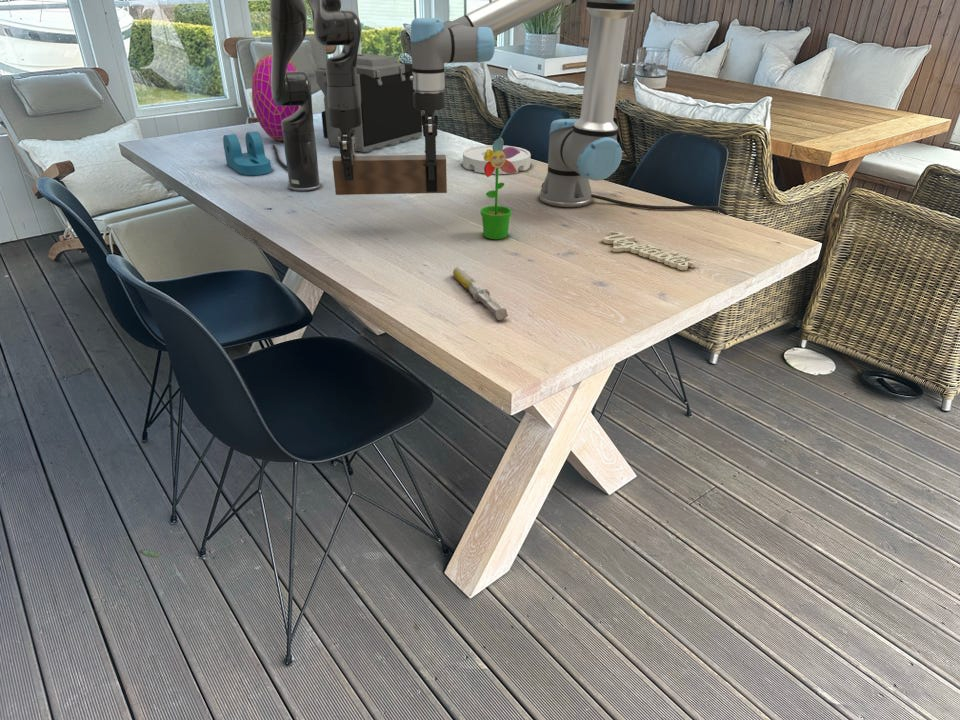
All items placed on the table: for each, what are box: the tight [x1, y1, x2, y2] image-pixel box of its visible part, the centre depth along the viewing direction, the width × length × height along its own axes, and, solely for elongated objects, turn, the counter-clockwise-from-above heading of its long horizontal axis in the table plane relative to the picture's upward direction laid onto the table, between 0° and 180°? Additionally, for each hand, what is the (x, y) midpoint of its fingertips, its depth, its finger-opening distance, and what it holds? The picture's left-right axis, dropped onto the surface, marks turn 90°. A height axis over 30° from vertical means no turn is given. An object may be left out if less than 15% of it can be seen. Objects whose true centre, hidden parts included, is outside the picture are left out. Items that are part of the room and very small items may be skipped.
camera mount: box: [222, 131, 272, 176], centre depth 226 cm, size 18×10×10 cm, turn 35°
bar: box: [331, 154, 448, 196], centre depth 172 cm, size 28×5×8 cm, turn 95°
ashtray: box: [462, 144, 532, 175], centre depth 235 cm, size 23×23×4 cm
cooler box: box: [315, 53, 423, 153], centre depth 257 cm, size 37×22×30 cm, turn 144°
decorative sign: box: [603, 230, 695, 271], centre depth 167 cm, size 26×1×10 cm
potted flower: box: [480, 137, 520, 240], centre depth 170 cm, size 9×8×25 cm
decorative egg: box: [251, 54, 299, 142], centre depth 257 cm, size 19×19×30 cm
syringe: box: [452, 266, 509, 321], centre depth 145 cm, size 25×4×3 cm, turn 21°
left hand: (350, 176), depth 171 cm, fingers closed on bar, 4 cm apart
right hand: (431, 188), depth 174 cm, fingers closed on bar, 5 cm apart
